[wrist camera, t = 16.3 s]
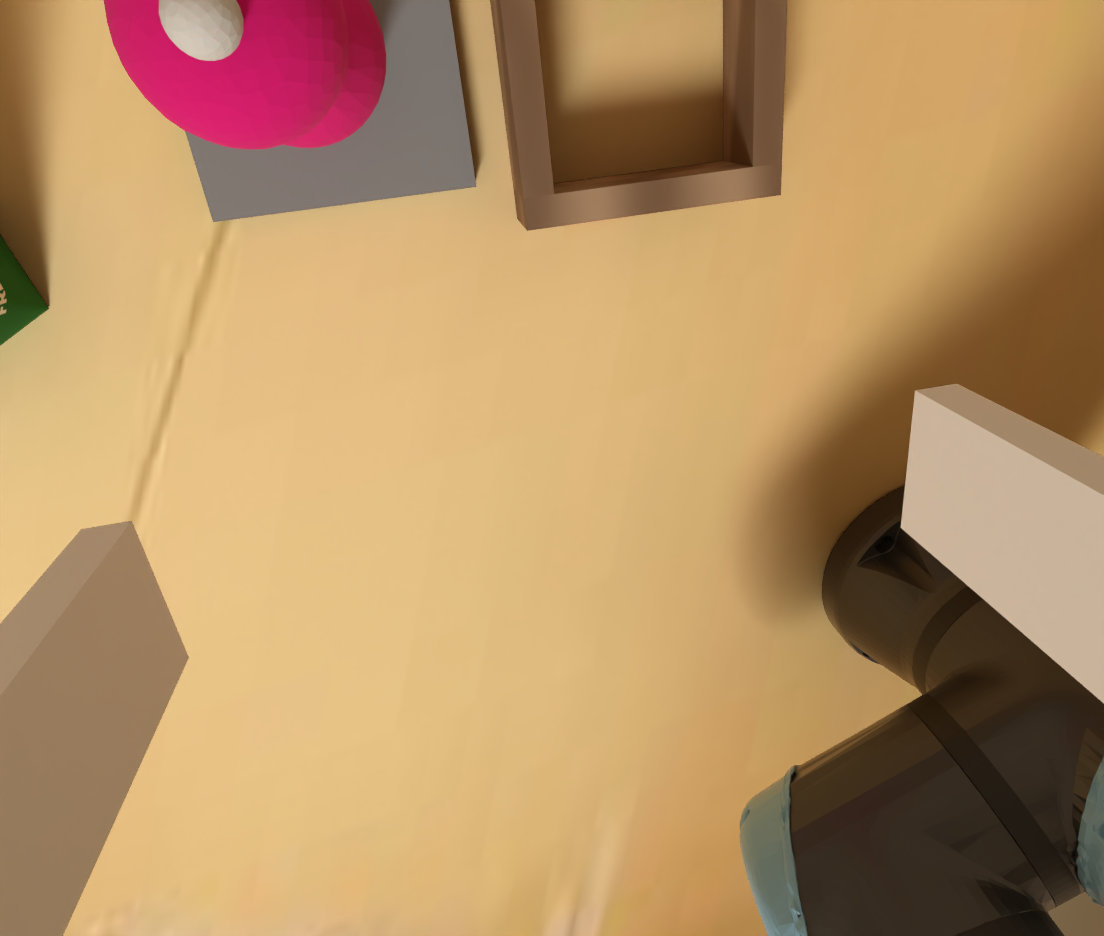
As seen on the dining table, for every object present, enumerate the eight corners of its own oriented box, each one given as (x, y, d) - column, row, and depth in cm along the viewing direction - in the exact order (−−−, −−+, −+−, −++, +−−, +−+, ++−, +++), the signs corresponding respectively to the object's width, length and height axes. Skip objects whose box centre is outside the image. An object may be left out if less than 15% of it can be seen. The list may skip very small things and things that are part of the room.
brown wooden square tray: (753, -105, 35) (791, -127, 32) (749, 186, 41) (780, 194, 37) (480, -78, 34) (488, -98, 30) (517, 218, 40) (527, 230, 36)
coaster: (428, -129, 33) (429, -136, 32) (474, 184, 39) (476, 186, 38) (122, -100, 31) (112, -107, 30) (218, 218, 37) (213, 222, 36)
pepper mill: (207, -39, 32) (-53, -207, 14) (379, -38, 33) (335, -195, 15) (242, 145, 35) (66, 193, 17) (398, 140, 36) (379, 182, 18)
